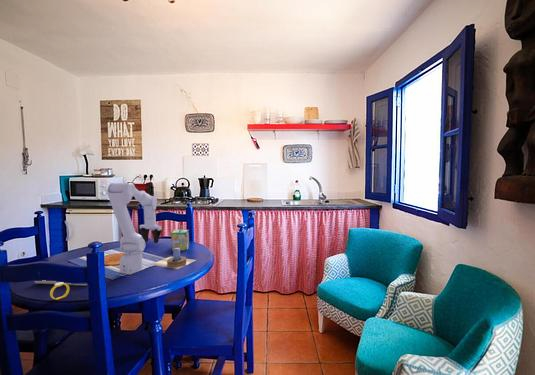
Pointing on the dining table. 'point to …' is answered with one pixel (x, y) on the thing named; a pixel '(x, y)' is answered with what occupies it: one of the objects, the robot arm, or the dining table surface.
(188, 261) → the board
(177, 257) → the peg
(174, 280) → the dining table surface
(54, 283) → the tube
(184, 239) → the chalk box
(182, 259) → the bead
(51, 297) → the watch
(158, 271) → the dining table surface
